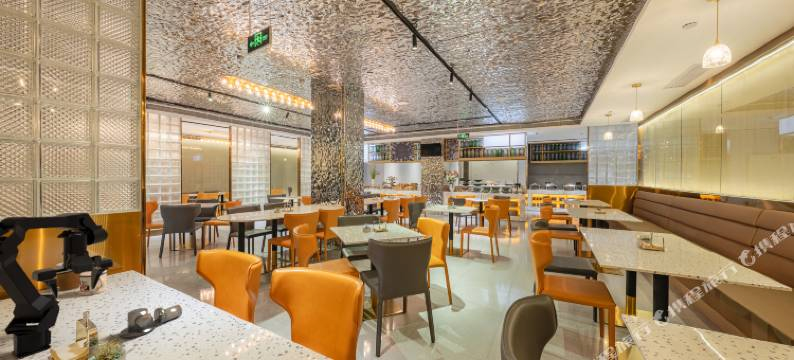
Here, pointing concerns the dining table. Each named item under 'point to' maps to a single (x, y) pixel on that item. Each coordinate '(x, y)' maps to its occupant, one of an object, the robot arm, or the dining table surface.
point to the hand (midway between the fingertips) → (75, 293)
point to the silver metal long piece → (155, 321)
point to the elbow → (139, 320)
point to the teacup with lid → (86, 283)
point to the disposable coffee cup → (67, 279)
